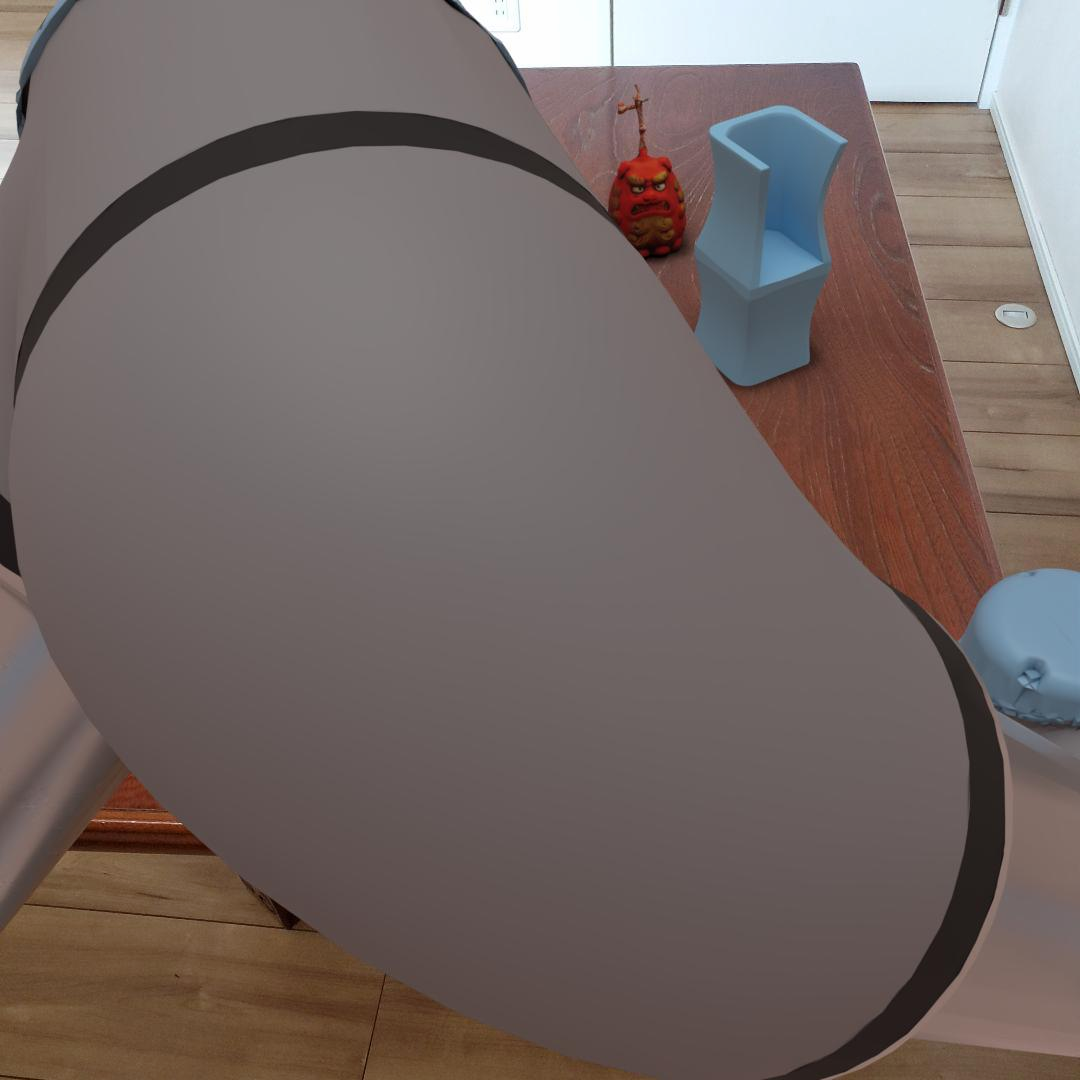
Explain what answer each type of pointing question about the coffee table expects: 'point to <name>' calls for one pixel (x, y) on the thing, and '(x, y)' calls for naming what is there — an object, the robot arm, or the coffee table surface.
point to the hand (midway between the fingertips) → (446, 600)
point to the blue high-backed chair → (764, 241)
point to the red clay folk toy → (647, 198)
